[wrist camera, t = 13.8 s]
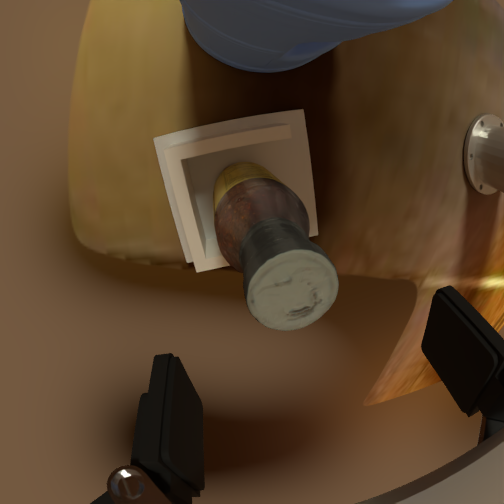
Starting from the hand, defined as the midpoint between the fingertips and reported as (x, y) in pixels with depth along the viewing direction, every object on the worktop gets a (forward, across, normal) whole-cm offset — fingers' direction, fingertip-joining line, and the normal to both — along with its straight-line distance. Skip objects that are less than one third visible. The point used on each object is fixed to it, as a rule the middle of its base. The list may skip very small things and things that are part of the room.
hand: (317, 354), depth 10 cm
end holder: (+24, +1, 0) cm, 24 cm away
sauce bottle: (+23, +1, 0) cm, 23 cm away
